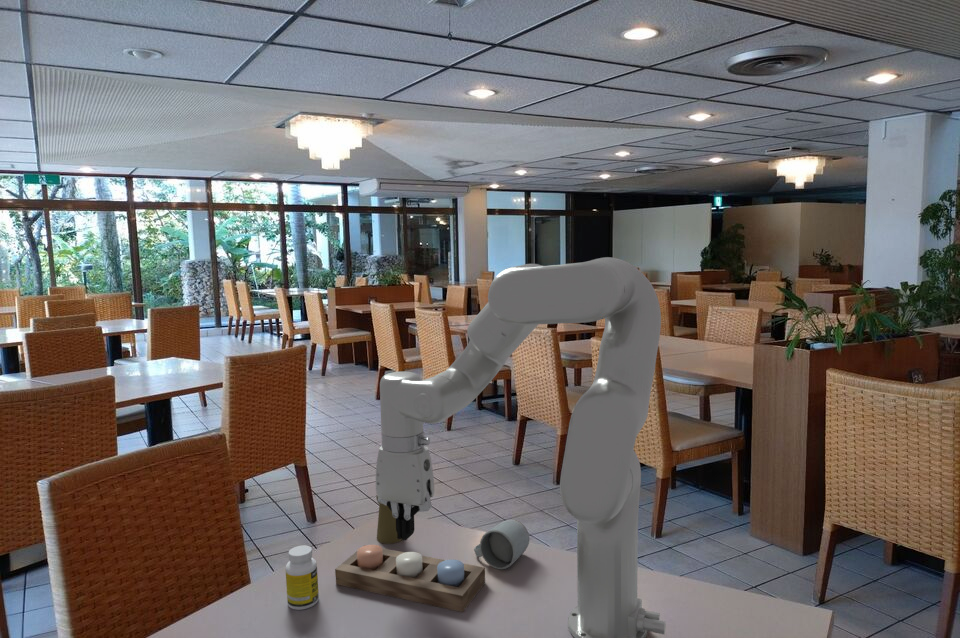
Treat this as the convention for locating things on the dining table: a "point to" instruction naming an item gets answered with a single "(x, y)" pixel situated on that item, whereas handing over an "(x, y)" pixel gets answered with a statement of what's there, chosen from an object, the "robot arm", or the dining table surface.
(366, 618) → the dining table surface
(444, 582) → the blue rounded knob
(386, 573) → the wooden compartment tray
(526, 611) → the dining table surface
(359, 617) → the dining table surface
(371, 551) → the pink rounded dome
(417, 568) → the cream button
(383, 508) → the olive game pawn
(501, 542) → the ceramic mug
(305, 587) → the supplement bottle
